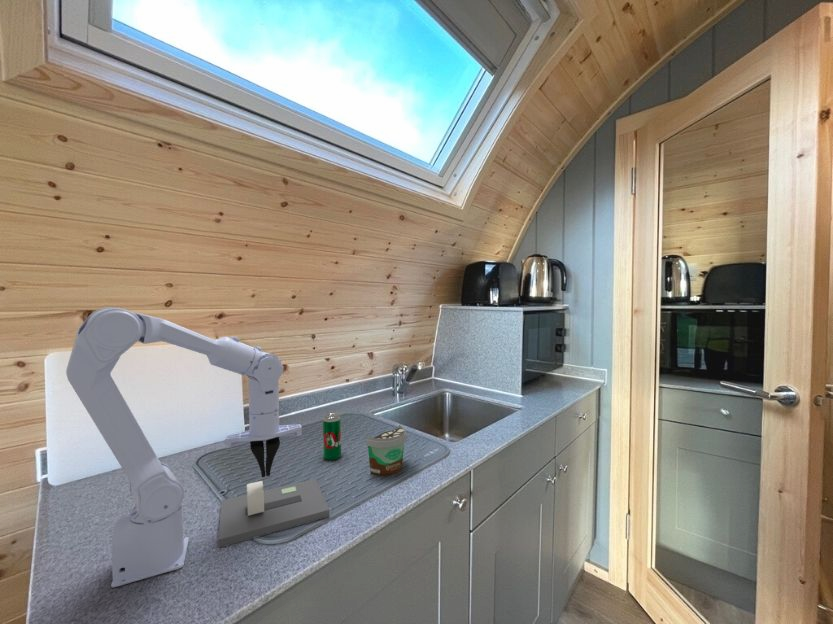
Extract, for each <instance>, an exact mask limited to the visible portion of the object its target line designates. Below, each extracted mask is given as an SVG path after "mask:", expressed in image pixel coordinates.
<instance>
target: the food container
mask: <svg viewBox="0 0 833 624" xmlns="http://www.w3.org/2000/svg"><path fill="white" fill-rule="evenodd" d="M407 438H408V436H407V432H406V429H405V428H404V426H402V425H401V424H398V428H396V429H393V430H388V431H384V432H382V433H380V434H379V435H376V436H374V437H370V436H367V438H366V441H365V446H367V451H368V460H369V461H368V462H369V471H370V474H371V475H372V476H378V477H391V476H395V475H397V474H398V472H399V473H400V472H401V471H402V470H403V463H404V462H403V461H404V451H405V442H406V441H407V440H408V439H407ZM394 474H395V475H394ZM390 475H391V476H390Z"/></svg>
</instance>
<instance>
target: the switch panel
mask: <svg viewBox="0 0 833 624" xmlns="http://www.w3.org/2000/svg"><path fill="white" fill-rule="evenodd" d="M263 490H264V489H263ZM220 504H221V505H220V512H219V513H220V515H219V527H218V538H217V539H218V540H217V544H218V545H217V546H218V548H222V547H226V546H229V545H234V544H237V543H240V542H245V541H247V540H251V539H254V537H255V538H258V537H257V536H259V537H262V536H265V535H264V534H266V535H269V534H268V533H270V534H272V532H273V533H276V531H277V532H280V531H283V529H284V530H287V529H290V527H291V528H294V527H293V526H295V527H297V525H298V526H301V524H302V525H305V524H309V523H312V522H315V521H319V519H320V520H322V519H326V518H330V509H329V505H328V504H327V501H326V499H325V497H324V495H323V492H322V490H321V487H320V485H319V482H318V481H317V478H313V479H309V480H304V481H300V482H296V483H291V484H287V485H282V486H279V487H275V488H269V489H265V490H264V512H261V513H257V514H253V515H249V516H248V508H247V494H243V495H238V496H235V497H230V498H226V499H222V500H221V502H220ZM308 522H309V523H308ZM279 530H280V531H279ZM261 535H262V536H261Z"/></svg>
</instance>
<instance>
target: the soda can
mask: <svg viewBox="0 0 833 624" xmlns="http://www.w3.org/2000/svg"><path fill="white" fill-rule="evenodd" d="M341 456H342V418H341V416H340V413H337V412H330V413H326V414H324V415H323V418H322V457H323V459H324V460H326V461H335V460H339V459H340V457H341Z"/></svg>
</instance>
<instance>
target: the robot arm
mask: <svg viewBox="0 0 833 624" xmlns="http://www.w3.org/2000/svg"><path fill="white" fill-rule="evenodd" d="M240 340H241V339H240V337H237V336H233V335H231V336H230V337H229V336H221V337H220V338H217V339H213V338H210V337H209V336H206V335H203V334H200V333H199V332H196V331H193V330H191V329H189V328H186V327H183V326H182V325H179V324H177V323H174V322H171V321H169V320H167V319H164V318H161V317H156V316H151V315H148V314H142V313H137V312H132V311H131V310H128V309H124V308H118V307H112V306H111V307H108V306H107V307H102V308H99V309H97V310H94V311H93V312H92V313H90V315H88V316H87V318H86V319H85V320H84V322H83V323H82V324H81V325H80V326H79V327H78V328H77V330H76V335H75V339H74V341H73V346H72V350H71V352H70V357H69V360H68V363H67V366H66V370H65V374H66V377H67V380H68V382H69V384H70V386H71V387H72V389H73V390H74V392H75V394H76V395H77V396H78V398H79V400H80V402H81V403H82V405H83V407H84V408H85V410H86V411H87V413H88V415H89V416H90V418H91V419H92V421H93V423H94V425H95V426H96V428H97V429H98V431H99V433H100V434H101V436H102V438H103V440H104V441H105V442H106V444H107V445H108V447H109V449H110V450H111V452H112V454H113V456H114V458H115V459H116V461H117V462H118V464H119V466H120V467H121V469H122V471H123V472H124V474H125V476H126V477H127V479H128V481H129V485H128V486H129V492H130V493H131V496H132V497H133V500H134V502H135V504H134V506H133V508H132V510H131V511H130V513H129V514H127V515H125V516H120V517H119V518H117V519H116V521H115V523H114V525H113V529H112V534H111V535H112V536H111V543H110V544H111V546H110V547H111V548H110V550H111V571H112V582H111V584H110V585H111V588H117V587H121V586H123V585H127V584H131V583H133V582H137V581H141V580H143V579H144V580H145V579H148V578H151V577H155V576H158V575H162V574H165V573H168V572H173V571H175V570H179V569H182V568H183V567H184V564H185V560H186V557H187V551H188V546H189V541H190V540H189V539H190V538H189V537H187V536H186V537H184V517H183V516H184V515H183V513H184V512H183V511H184V510H183V501H184V497H185V489H184V486H183V484H182V483H181V482H180V481H179V480H178V479H177V477H176V476H175V475H174V473H173V470H172V468H171V467H170V466H169V465H168V464H166V463H164V462H162V461H160V460H159V458H158V456H157V454H156V452H155V451H154V449H153V447H152V446H151V444H150V442H149V440H148V438H147V436H146V435H145V433H144V431H143V429H142V428H141V426H140V425H139V422H138V421H137V419H136V418H135V415H134V413H133V412H132V411H131V408H130V407H129V405H128V404H127V402H126V400H125V398H124V396H123V395H122V393H121V391H120V389H119V387H118V386H117V384H116V382H115V380H114V378H113V377H112V376H111V373H112V371H113V369H115V366H116V365H117V363H118V361H119V360H120V358H121V356H122V355H123V354H125V353H126V352H127V351H129V350H130V348H132V347H133V346H134V345H135V344H136V343H138V342H140V343H142V344H143V345H145V344H146V345H147V344H153V343H158V342H159V343H160V342H163V343H164V342H165V343H167V344H171V345H172V346H177V347H180V348H182V349H186V350H190V351H193V352H196V353H199V354H201V355H205V356H206V358H208V362H209V364H210V365H211V366H214V367H217V368H220V369H223V370H226V371H229V372H233V373H235V374H238V375H241V376H246V377H247V378H248V422H249V423H248V426H249V427H248V428H249V429H248V430H244V431H240V432H237V433H232V434H228V435H225V436H224V449H230V448H232V447H234V446H241V445H249V444H250V451H251V453H252V454H253V456H254V458H255V460H256V461H257V464H258V466H259V470H260V476H261V478H266V477H267V478H268V477H270V476H271V471H272V466H273V463H274V459H275V458H276V457H275V456H276V454H277V452H278V450H279V448H280V447H281V442H280V439H282V438H283V439H284V438H289V437H295V436H296V437H301V436H303V434H302V432H303V430H302V429H303V426H302V425H301V424H300V423H299V424H297V423H296V424H286V425H285V424H283V425H280V400H279V399H280V396H279V395H280V393H279V392H280V389H279V388H280V387H279V380H280V378H281V376H282V375H283V373H284V367H285V366H284V365H282V361H281V359H280V357H279V356H277V355H275V354H274V353H273V354H272V353H268V352H264V351H263V349H262V347H260V346H257V345H255V346H250V345H248V344H246V343H243V342H241V341H240ZM264 442H265V443H264ZM264 445H265V446H264ZM265 454H266V456H265ZM265 457H266V458H265Z"/></svg>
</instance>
